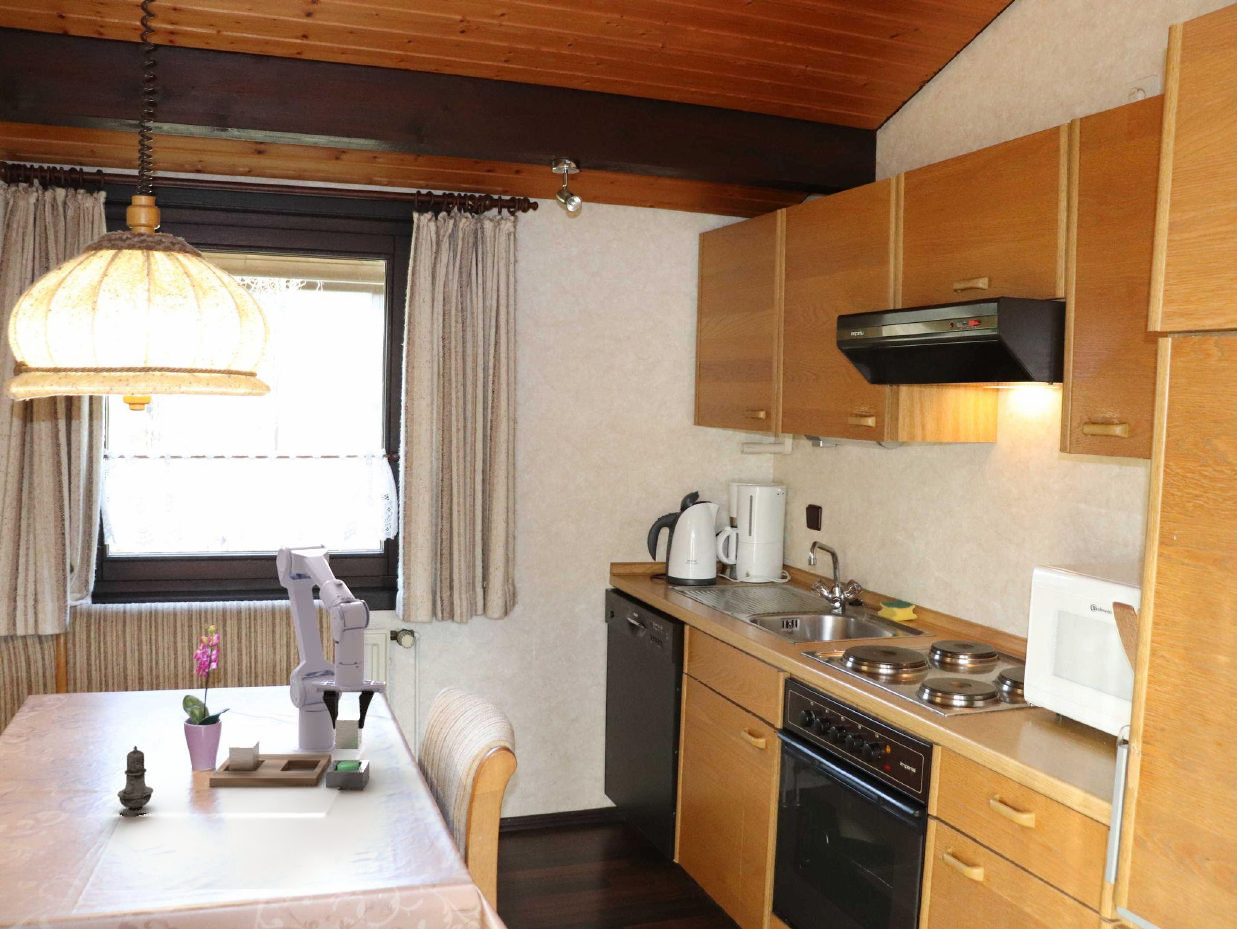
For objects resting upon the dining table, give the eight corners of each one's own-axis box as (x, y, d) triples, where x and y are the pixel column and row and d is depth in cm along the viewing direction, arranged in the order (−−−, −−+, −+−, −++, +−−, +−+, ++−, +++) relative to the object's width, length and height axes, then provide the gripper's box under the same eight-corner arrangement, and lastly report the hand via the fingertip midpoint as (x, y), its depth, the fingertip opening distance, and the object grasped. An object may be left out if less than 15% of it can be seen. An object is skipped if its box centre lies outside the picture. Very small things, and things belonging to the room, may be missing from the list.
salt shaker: (139, 819, 186) (139, 752, 186) (110, 816, 187) (110, 749, 187) (160, 807, 192) (160, 742, 191) (131, 804, 193) (131, 739, 193)
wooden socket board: (231, 764, 215) (231, 753, 215) (331, 764, 216) (331, 754, 216) (209, 789, 201) (209, 777, 201) (315, 789, 203) (316, 778, 202)
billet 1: (235, 769, 211) (236, 740, 210) (258, 769, 211) (259, 740, 211) (229, 777, 206) (229, 747, 206) (252, 777, 206) (252, 747, 206)
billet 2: (339, 741, 217) (339, 713, 216) (361, 741, 217) (361, 713, 217) (335, 749, 212) (335, 719, 212) (357, 749, 212) (358, 719, 212)
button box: (333, 777, 209) (333, 760, 209) (369, 777, 210) (369, 760, 209) (325, 790, 202) (326, 772, 202) (362, 790, 203) (363, 772, 202)
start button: (339, 775, 208) (339, 761, 208) (360, 775, 208) (360, 761, 208) (335, 782, 204) (335, 767, 204) (356, 782, 204) (356, 768, 204)
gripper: (308, 665, 209) (307, 733, 210) (382, 666, 210) (381, 733, 211) (316, 657, 216) (315, 722, 217) (387, 657, 217) (387, 722, 218)
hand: (348, 727), depth 214 cm, fingers closed on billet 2, 4 cm apart
